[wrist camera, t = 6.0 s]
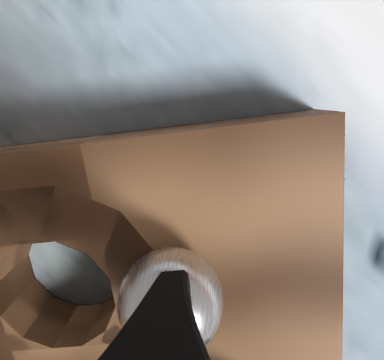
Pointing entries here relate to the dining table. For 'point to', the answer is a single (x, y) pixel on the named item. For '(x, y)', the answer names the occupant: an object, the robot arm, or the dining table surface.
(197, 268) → the steel ball
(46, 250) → the dining table surface
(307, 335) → the brown wooden hole board
